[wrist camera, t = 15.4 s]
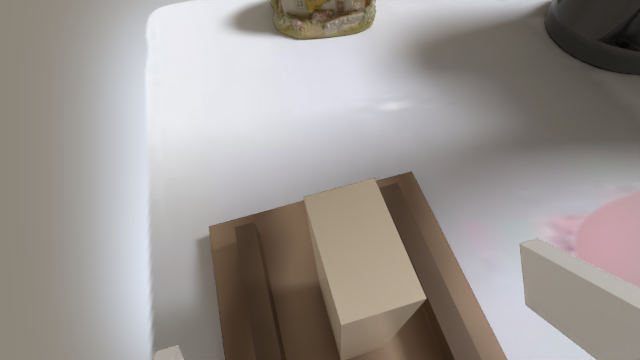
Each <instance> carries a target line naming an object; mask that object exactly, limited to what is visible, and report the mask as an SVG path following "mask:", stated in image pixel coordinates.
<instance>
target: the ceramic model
mask: <svg viewBox="0 0 640 360" xmlns="http://www.w3.org/2000/svg"><path fill="white" fill-rule="evenodd" d="M375 1H376V0H271V5H272V7H273V10H274V15H273V23H274V25H275V27H276V28H277V29H278V30H279V31H280V32H281V33H283V34H286V35H288V36H291V37H294V38H298V39H313V38H327V37H337V36H344V35H350V34H355V33H359V32H362V31H364V30H366V29H368V28H370V27H371V25H372V24H373V21H374V18H375V14H376V9H375V7H376V6H375V3H376V2H375Z"/></svg>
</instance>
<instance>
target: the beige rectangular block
mask: <svg viewBox="0 0 640 360" xmlns="http://www.w3.org/2000/svg"><path fill="white" fill-rule="evenodd" d="M304 202H305V208H306V213H307V218H308V224H309V229H310V234H311V240H312V245H313V250H314V256H315V261H316V267H317V272H318V277H319V283H320V288H321V292H322V295H323V299H324V302H325V306H326V310H327V313H328V317H329V320H330V324H331V327H332V331H333V335H334V338H335V342H336V345H337V349H338V353H339V356H340V360H347V359H350V358H353V357H356V356H359V355H362V354H365V353H368V352H372V351H375V350H378V349H381V348H384V346H385V345H386V344H387V343H388V342H389V341H390V340H391V338H392V337H393V336H394V335H395V334H396V333H397V332H398V331H399V329H400V328H401V327H402V326H403V325H404V324H405V323H406V321H407V320H408V319H409V318H410V317H411V316H412V315H413V314H414V312H415V311H416V310H417V309H418V308H419V307H420V306H421V304H422V303H423V302H424V301H425V300H426V299H427V298H426V296H425V294H424V291H423V289H422V287H421V284H420V282H419V280H418V277H417V275H416V273H415V271H414V268H413V266H412V264H411V261H410V259H409V257H408V254H407V252H406V250H405V247H404V245H403V243H402V241H401V238H400V236H399V234H398V231H397V229H396V227H395V224H394V222H393V220H392V217H391V215H390V213H389V211H388V208H387V206H386V204H385V201H384V199H383V197H382V194H381V192H380V190H379V188H378V185H377V183H376V181H375V178H372V179H369V180H365V181H361V182H358V183H354V184H350V185H346V186H343V187H339V188H335V189H332V190H328V191H324V192H321V193H317V194H313V195H309V196H306V197H304Z"/></svg>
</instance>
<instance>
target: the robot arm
mask: <svg viewBox="0 0 640 360" xmlns="http://www.w3.org/2000/svg"><path fill="white" fill-rule="evenodd" d="M545 25H546V29H547V31H548V33H549V35H550V36H551V37H552V39H553V40H554V41H555V42H556V43H557V44H558V45H559V46H560V47H561V48H563V49H564V50H565V51H567V52H568V53H570V54H571V55H573V56H575V57H576V58H578V59H580V60H582V61H585V62H587V63H589V64H592V65H594V66H597V67H600V68H604V69H608V70H612V71H617V72H623V73H632V74H640V0H553V1H552V3H551V5H550V7H549V9H548V10H547V12H546V15H545ZM520 253H521V263H522V273H523V283H524V293H525V303H526V306H528V307H529V308H530V309H531V310H533V311H534V312H535V313H537V314H538V315H539V316H541V317H542V318H543V319H544V320H546V321H547V322H548V323H550V324H551V325H552V326H554V327H555V328H556V329H557V330H559V331H560V332H561V333H563V334H564V335H565V336H567V337H568V338H569V339H571V340H572V341H573V342H574V343H576V344H577V345H578V346H580V347H581V348H582V349H584V350H585V351H586V352H587V353H589V354H590V355H591V356H593V357H594V358H595V359H597V360H640V288H638V287H637V286H634V285H632V284H630V283H629V282H626V281H624V280H622V279H620V278H618V277H616V276H614V275H612V274H610V273H608V272H606V271H604V270H602V269H600V268H598V267H596V266H593V265H592V264H589V263H588V262H585V261H583V260H581V259H579V258H577V257H575V256H573V255H571V254H569V253H567V252H565V251H563V250H561V249H559V248H557V247H555V246H553V245H551V244H549V243H547V242H544V241H542V240H540V239H538V238H536V239H533V240H529V241H526V242H523V243H520ZM153 360H184V358H183V356H182V353H181V350H180V348H179V345H175V346H172V347H169V348H165V349H162V350H158V351H156V353H155V355H154V357H153Z"/></svg>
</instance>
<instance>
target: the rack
mask: <svg viewBox="0 0 640 360" xmlns="http://www.w3.org/2000/svg"><path fill="white" fill-rule="evenodd" d="M376 183H377V185H378V188H379V190H380V192H381V194H382V197H383V199H384V201H385V204H386V206H387V208H388V211H389V213H390V215H391V217H392V220H393V222H394V224H395V227H396V229H397V231H398V234H399V236H400V238H401V241H402V243H403V245H404V247H405V250H406V252H407V254H408V257H409V259H410V261H411V264H412V266H413V268H414V271H415V273H416V275H417V277H418V280H419V282H420V284H421V287H422V289H423V291H424V294H425V296H426V298H427V299H426V300H425V301H424V302H423V303H422V304H421V306H420V307H419V308H418V309H417V310H416V311H415V312H414V314H413V315H412V316H411V317H410V318H409V319H408V320H407V321H406V323H405V324H404V325H403V326H402V327H401V328H400V329H399V331H398V332H397V333H396V334H395V335H394V336H393V337H392V338H391V340H390V341H389V342H388V343H387V344H386V345H385V346H384V348H381V349H378V350H375V351H372V352H368V353H365V354H362V355H359V356H356V357H353V358H350V359H347V360H507V358H506V356H505V354H504V352H503V350H502V348H501V346H500V344H499V342H498V340H497V338H496V336H495V334H494V332H493V330H492V328H491V326H490V324H489V323H488V321H487V319H486V317H485V315H484V313H483V311H482V309H481V307H480V305H479V303H478V301H477V299H476V297H475V295H474V293H473V291H472V289H471V287H470V285H469V283H468V281H467V279H466V277H465V275H464V273H463V271H462V269H461V267H460V265H459V264H458V262H457V260H456V258H455V256H454V254H453V252H452V250H451V248H450V246H449V244H448V242H447V240H446V238H445V236H444V234H443V232H442V230H441V228H440V226H439V224H438V222H437V220H436V218H435V216H434V214H433V212H432V210H431V208H430V207H429V205H428V203H427V201H426V199H425V197H424V195H423V193H422V191H421V189H420V187H419V185H418V183H417V181H416V179H415V177H414V175H413V173H412V171H411V172H408V173H404V174H400V175H397V176H393V177H389V178H386V179H382V180H378V181H376ZM209 231H210V240H211V248H212V256H213V264H214V273H215V281H216V289H217V297H218V306H219V314H220V322H221V330H222V339H223V347H224V355H225V360H340V356H339V353H338V349H337V345H336V342H335V338H334V335H333V331H332V327H331V324H330V320H329V317H328V313H327V310H326V306H325V302H324V299H323V295H322V292H321V288H320V283H319V277H318V272H317V267H316V261H315V256H314V250H313V245H312V240H311V234H310V229H309V224H308V218H307V213H306V208H305V202H304V201H301V202H297V203H294V204H290V205H286V206H283V207H279V208H275V209H271V210H268V211H264V212H260V213H257V214H253V215H249V216H246V217H242V218H238V219H235V220H231V221H227V222H224V223H220V224H216V225H213V226H209Z"/></svg>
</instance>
